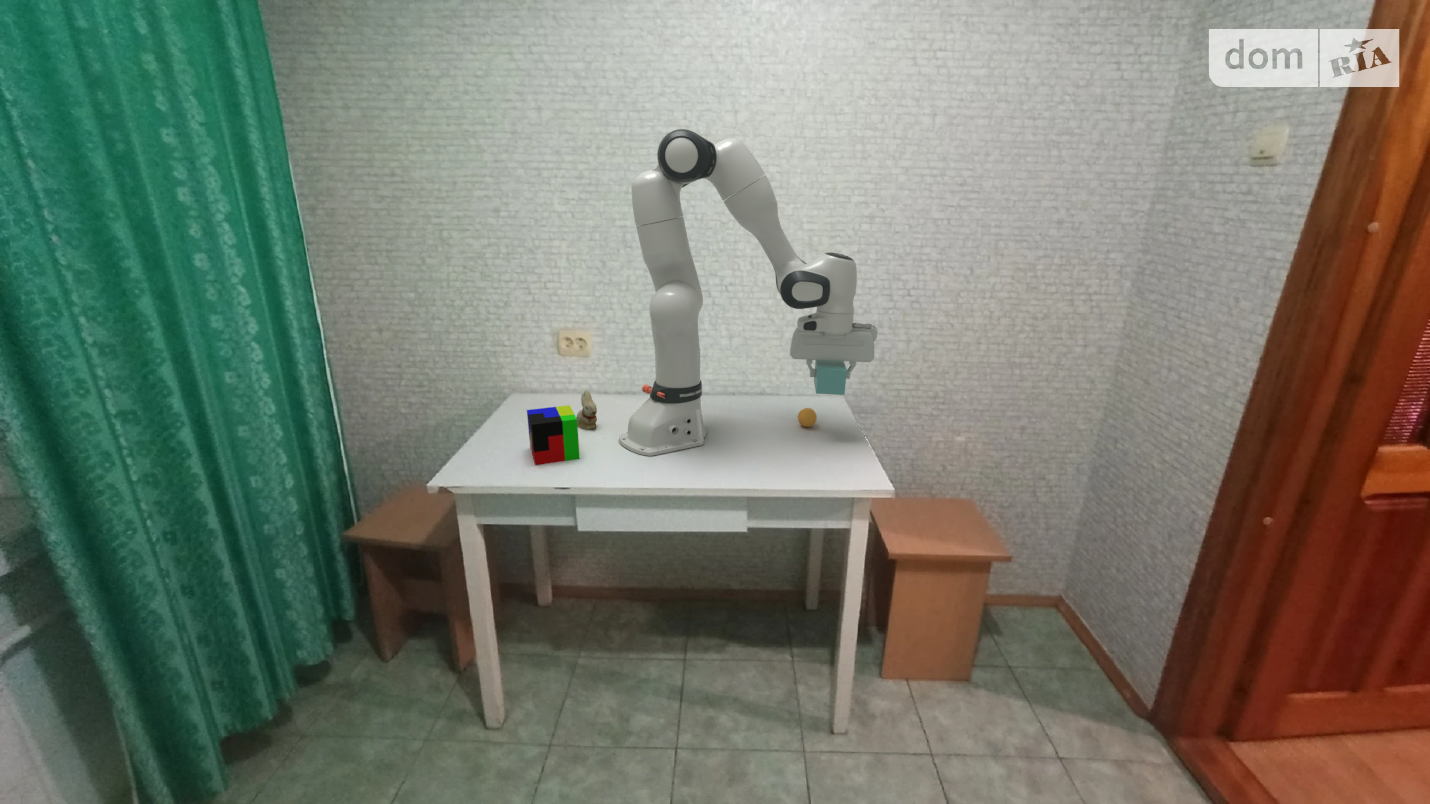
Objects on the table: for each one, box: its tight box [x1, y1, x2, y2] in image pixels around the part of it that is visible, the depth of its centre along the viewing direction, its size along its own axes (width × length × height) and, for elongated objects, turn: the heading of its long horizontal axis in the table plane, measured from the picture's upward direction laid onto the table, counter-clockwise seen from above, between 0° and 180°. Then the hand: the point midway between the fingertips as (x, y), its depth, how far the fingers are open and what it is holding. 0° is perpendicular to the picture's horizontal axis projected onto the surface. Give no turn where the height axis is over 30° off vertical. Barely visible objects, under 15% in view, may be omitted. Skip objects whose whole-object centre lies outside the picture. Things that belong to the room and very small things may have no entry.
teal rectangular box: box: [813, 360, 848, 396], centre depth 156 cm, size 10×7×6 cm, turn 175°
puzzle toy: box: [526, 404, 581, 466], centre depth 148 cm, size 10×10×10 cm
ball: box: [797, 407, 818, 428], centre depth 167 cm, size 5×5×5 cm
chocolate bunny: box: [576, 389, 598, 431], centre depth 165 cm, size 6×8×10 cm
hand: (829, 377), depth 156 cm, fingers closed on teal rectangular box, 7 cm apart
